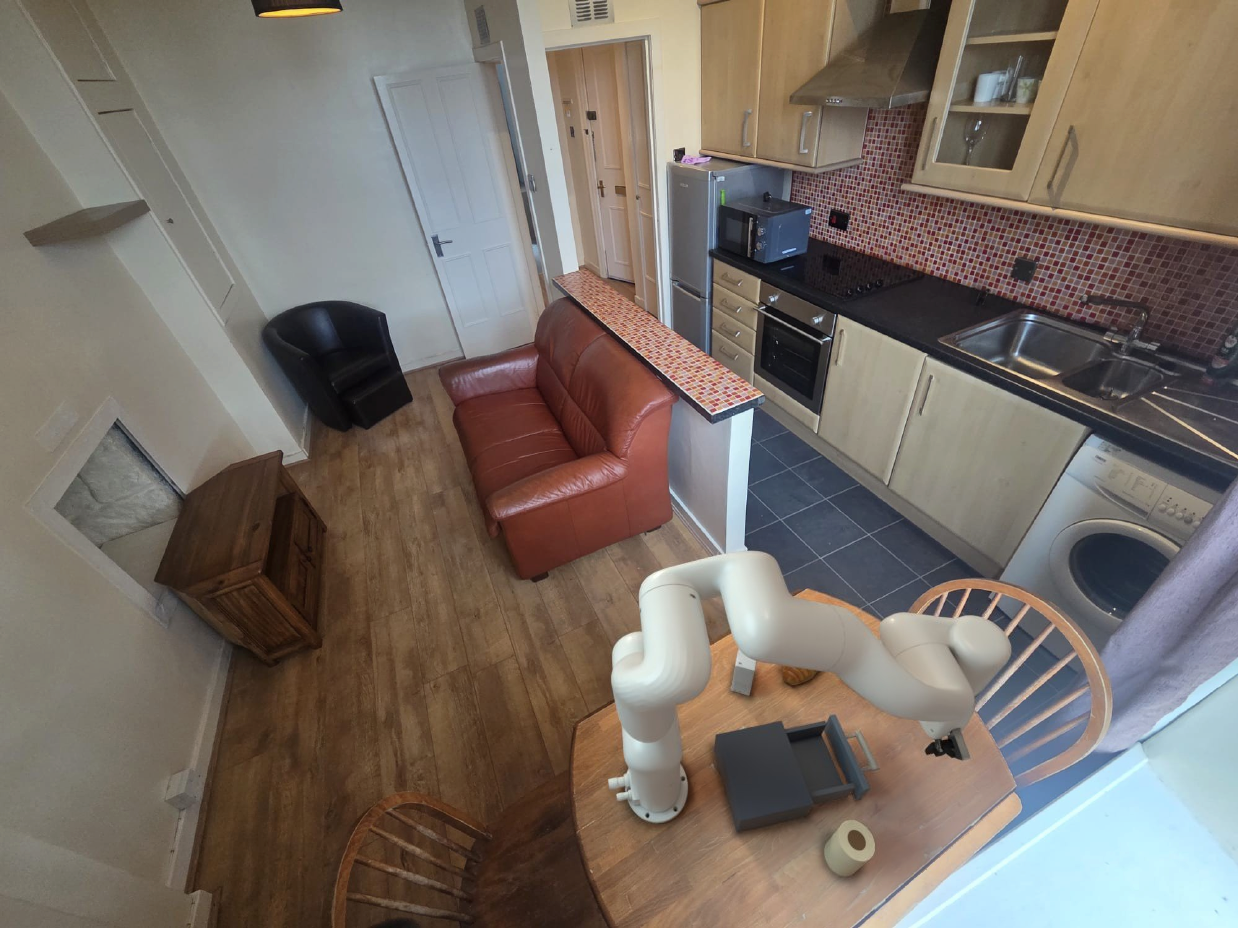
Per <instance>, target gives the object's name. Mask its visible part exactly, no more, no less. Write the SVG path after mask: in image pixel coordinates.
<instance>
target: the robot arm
mask: <svg viewBox="0 0 1238 928" xmlns="http://www.w3.org/2000/svg"><path fill="white" fill-rule="evenodd" d="M718 597H721V599H722V602H723V603H722V604H723V606H724V610H725V614H726V615H725V616H726V619H727V622H728V627H729V629H730V632H731V636H732V639H733V641H734V643H735V645H736V647H737V649H738V650H739V649H740V651H741V652H742V653H743V654H744V655H745V656H747V657H748V658H750V659H753V660H755V661H757V662H760V663H765V664H770V665H771V664H772V665H777V666H778V665H779V666H783V667H784V666H790V667H797V668H804V669H810V670H817V671H818V672H825V673H831V674H834V675H835V676H837V677H838V678H839V679H840V680H841V681H842V682H843V683H844V684H845V685H846V686H847V687H849V688H850V689H851V690H853V692H855V693H856V694H857V695H859V696H860V697H862V698H864V700H865V701H867V702H868V703H869V704H871V705H873V706H874V707H875V708H877V709H879V710H880V711H882V712H884V713H886V714H888V715H890V716H892V717H896V718H898V719H904V720H913V721H918V723H919V725H920V726H921V728H922V729H923V731H924V732H925V734H926V735H927V736H928V737H929V738H930V739H932V740H934V741H932V742H930V743H929V744H928V745H927V747H926V748H925V749H924V753H925V756H930V755H934V756H935V757H936V758H937V757H942V756H945V755H947V756H948V758H951V759H956V760H958V761H962V762H963V761H967V760H971V755H970V752H969V749H968V746H967V744H966V741H965V739H964V736H963V733H962V732H963V730H964V729H965V728H966V727H967V725H968V724H969V722H970V721H971V720H972V716H973V715H974V711H975V709H976V706H977V701H976V698H977V697H978V696H979V694H980V693H981V692H982V691H983V690H984V689H985V688H986V687H987V686H988V684H990V682H992V680H993V679H994V678H995V677H996V675H998V673H999V672H1000V671H1001V670H1002V669H1003V668H1004V666H1005V665H1006V664H1007V663H1008V661H1009V660H1010V659H1011V655H1012V644H1011V641H1010V639H1009V637H1008V635H1007V634H1006V632H1005V631H1003V629H1002V628H1001V627H999V626H998V625H997V624H996V623H994V622H993V621H991V620H989V619H987V618H985V617H981V616H980V615H979V616H978V615H970V614H969V615H966V614H965V615H962V616H959V617H945V616H936V615H930V614H923V613H914V612H905V611H904V612H903V611H901V612H897V613H896V612H895V613H893V614H890V615H889V616H887V617H885V618H884V619H883V620H882V621H880V623H879V626H878V635H879V637H877V635H876V634H875V632H873V631H872V629H871V628H870V627H869V626H868V625H867V624H866V623H865V622H864V621H863V620H862V619H861V618H860V617H859V616H858V615H857V614H856V613H854V612H853V611H851V610H850V609H848V608H846V607H843V606H842V605H836V604H831V603H825V602H819V601H816V600H815V601H814V600H810V599H806V598H801V597H797V596H793V595H792V594H791V592H790V590H789V588H788V587H787V583H786V581H785V578H784V576H783V573H782V570H781V567H780V564H779V563H778V561H777V559H776V558H775V557H774V556H772V555H771V554H769V553H767V552H765V551H758V550H741V551H731V552H728V553H722V554H716V555H713V556H708V557H704V558H700V559H697V560H692V561H689V562H688V561H687V562H684V563H680V564H675V565H672V566H669V567H665V568H662V569H660V570H657V571H655V572H653V573H651V574H650V575H648V576H647V577H646V578H645V579H644V580H643V581H642V583H641V584H640V588H639V591H638V607H639V616H640V626H641V631H640V630H639V631H633V632H630V633H628V634H625V635H624V636H622V637H620V639H619V640H618V641H616V643H615V644H614V646H613V648H612V652H611V662H612V664H611V665H612V671H611V674H610V677H611V678H610V683H611V688H612V693H613V699H614V703H615V704H614V705H615V708H616V715H617V717H618V720H619V722H620V725H621V733H622V735H621V736H622V751H623V757H624V761H625V764H626V766H627V768H628V769H627V772H626V773H623V776H620V777H617V776H616V777H612V778H608V779H607V780H608V781H607V782H608V788H609V791H613V790H617V789H620V788H624V791H625V792H623V791H622V792H618V793H616V801H617V802H622V801H626V800H627V802H628V805H629V806H630V808H631V810H632V811H633V812H634V813H635V814H636V816H638V817H639V818H640V819H642V820H644V821H646V822H647V823H652V824H663V823H667V822H669V821H671V820H673V819H674V818H676V817H677V816H678V815H679V814H680V813H681V812H682V810H683V808H684V807H685V805H686V802H687V799H688V795H689V794H688V793H689V782H688V777H687V774H686V770H685V769H684V767H683V765H682V764H681V761H682V759H683V755H684V754H683V752H684V751H683V750H684V749H683V741H682V735H681V734H682V733H681V729H680V728H681V727H680V721H679V716H678V715H679V714H678V710H677V707H678V706H679V705H684V704H686V703H689V702H691V701H694V700H695V699H696V698H698V697H700V695H701V694H702V693H703V692H704V691H705V689H706V688H707V686H708V684H709V682H710V679H711V674H712V667H713V666H712V665H713V664H712V662H713V659H712V649H711V643H710V639H709V634H708V630H707V624H706V619H705V615H704V610H703V605H702V602H703V601H709V600H712V599H715V598H718ZM879 639H881V641H882V643H883V644H882V643H881V642H880V640H879ZM945 737H946V738H945ZM943 738H945V739H943ZM675 810H676V811H675Z"/></svg>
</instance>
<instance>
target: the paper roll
mask: <svg viewBox="0 0 1238 928" xmlns="http://www.w3.org/2000/svg"><path fill="white" fill-rule="evenodd" d="M875 852H876V843H875V839H874V836H873V834H872V832H871V831H870V829H868V827H867V826H866V825H865V824H864V823H862V822H861V821H858V820H855V819H847V820H845V821H843V822H842V823H841V824H840V825H839V827H838V828H837V829H836V830H835V832H834V833H833V834H832V836H831V837H830V838H829V839H828V840H827V842H826V843H825V845H824V849H823V854H824V859H825V861H826V864H827V866H828V867H829V868H830V870H831V871H832V872H833V873H835V874H836V875H838V876H841V877H850V876H852V875H853V874H855V873H856V872H857V871H858V870H859V869H860V868H861V867H863V866H864V865H865V864H867V862H868V861H870V860H871V859H872V858H873V857H874V855H875Z"/></svg>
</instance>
